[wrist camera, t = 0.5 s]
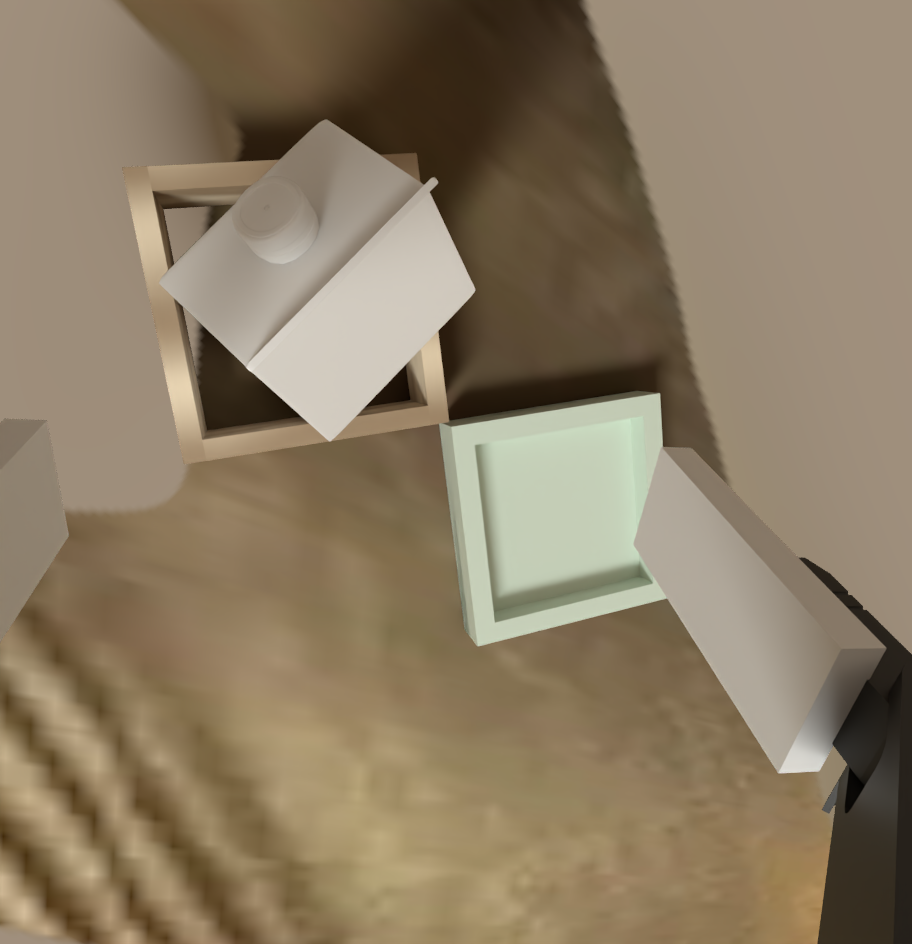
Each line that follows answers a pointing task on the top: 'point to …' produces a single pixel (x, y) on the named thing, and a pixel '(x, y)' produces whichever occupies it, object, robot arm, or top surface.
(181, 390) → the holder
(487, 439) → the tray
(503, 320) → the top surface
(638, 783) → the top surface
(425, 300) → the milk carton
